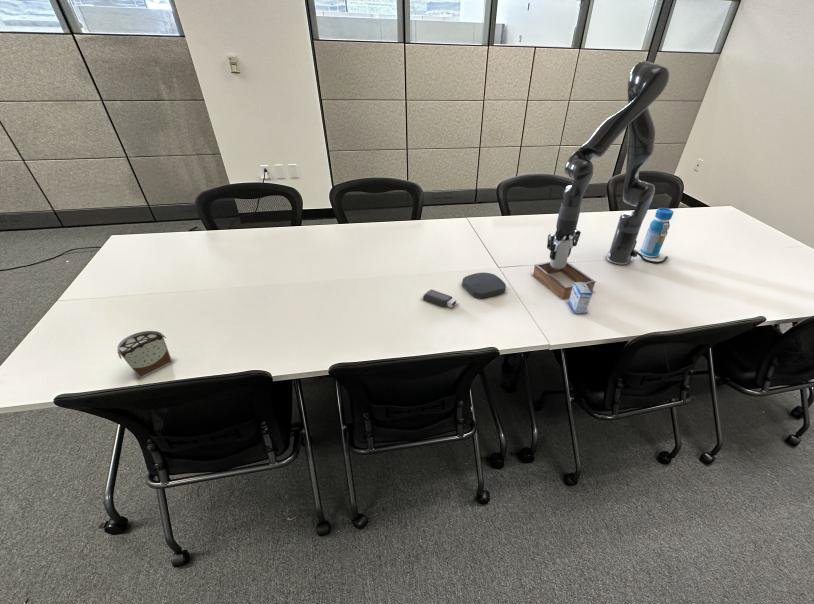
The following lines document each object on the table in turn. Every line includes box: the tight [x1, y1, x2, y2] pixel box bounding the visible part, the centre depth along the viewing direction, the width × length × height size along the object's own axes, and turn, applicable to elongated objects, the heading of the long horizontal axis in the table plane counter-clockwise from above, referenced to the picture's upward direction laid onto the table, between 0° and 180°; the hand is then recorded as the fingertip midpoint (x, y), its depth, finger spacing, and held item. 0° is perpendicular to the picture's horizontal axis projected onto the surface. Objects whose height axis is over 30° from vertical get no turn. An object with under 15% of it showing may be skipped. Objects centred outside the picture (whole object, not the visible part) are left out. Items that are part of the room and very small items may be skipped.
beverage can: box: [549, 239, 571, 269], centre depth 165 cm, size 6×6×12 cm
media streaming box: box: [461, 272, 507, 299], centre depth 163 cm, size 15×15×3 cm
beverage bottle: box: [639, 207, 674, 258], centre depth 187 cm, size 8×8×20 cm
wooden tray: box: [532, 261, 597, 300], centre depth 168 cm, size 15×21×5 cm
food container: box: [116, 330, 173, 379], centre depth 119 cm, size 12×6×10 cm, turn 145°
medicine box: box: [568, 281, 593, 314], centre depth 153 cm, size 8×4×9 cm, turn 6°
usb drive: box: [422, 289, 457, 309], centre depth 155 cm, size 5×12×3 cm, turn 59°
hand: (559, 257), depth 167 cm, fingers closed on beverage can, 6 cm apart
